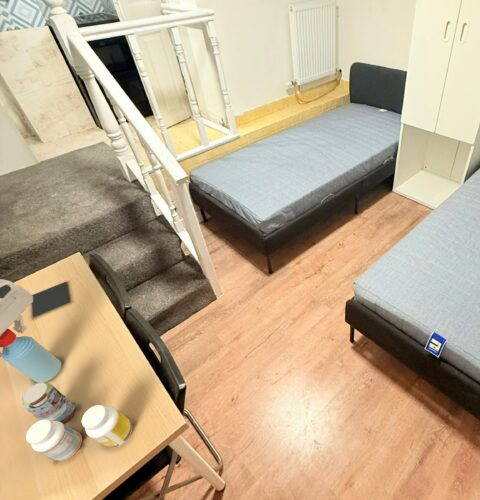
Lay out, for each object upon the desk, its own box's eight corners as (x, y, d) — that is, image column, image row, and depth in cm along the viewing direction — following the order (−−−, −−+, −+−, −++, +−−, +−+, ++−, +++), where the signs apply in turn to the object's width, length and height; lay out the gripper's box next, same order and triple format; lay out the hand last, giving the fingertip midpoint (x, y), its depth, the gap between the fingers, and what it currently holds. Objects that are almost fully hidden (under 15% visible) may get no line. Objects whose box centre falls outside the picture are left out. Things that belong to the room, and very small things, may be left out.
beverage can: (54, 436, 79) (20, 418, 71) (46, 412, 83) (14, 393, 75) (82, 417, 82) (53, 397, 74) (74, 395, 86) (45, 374, 78)
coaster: (33, 317, 104) (32, 316, 104) (32, 296, 110) (31, 295, 110) (69, 302, 108) (68, 301, 107) (66, 282, 114) (65, 281, 113)
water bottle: (29, 385, 88) (-21, 352, 76) (38, 362, 93) (-8, 327, 81) (57, 379, 89) (12, 345, 77) (64, 356, 94) (23, 321, 82)
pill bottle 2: (133, 414, 82) (110, 395, 74) (133, 441, 78) (109, 424, 70) (104, 425, 81) (78, 407, 72) (103, 453, 76) (75, 437, 68)
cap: (19, 338, 80) (12, 333, 79) (1, 350, 78) (-6, 345, 76) (12, 330, 82) (5, 325, 80) (-5, 342, 80) (-12, 337, 78)
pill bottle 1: (54, 440, 79) (22, 424, 71) (82, 427, 80) (55, 410, 73) (52, 467, 75) (19, 452, 67) (83, 452, 77) (53, 437, 69)
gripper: (-70, 356, 63) (-16, 387, 73) (16, 275, 78) (52, 310, 87) (-96, 352, 64) (-40, 383, 74) (-7, 273, 79) (31, 307, 88)
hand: (10, 343), depth 81 cm, fingers open, 6 cm apart
